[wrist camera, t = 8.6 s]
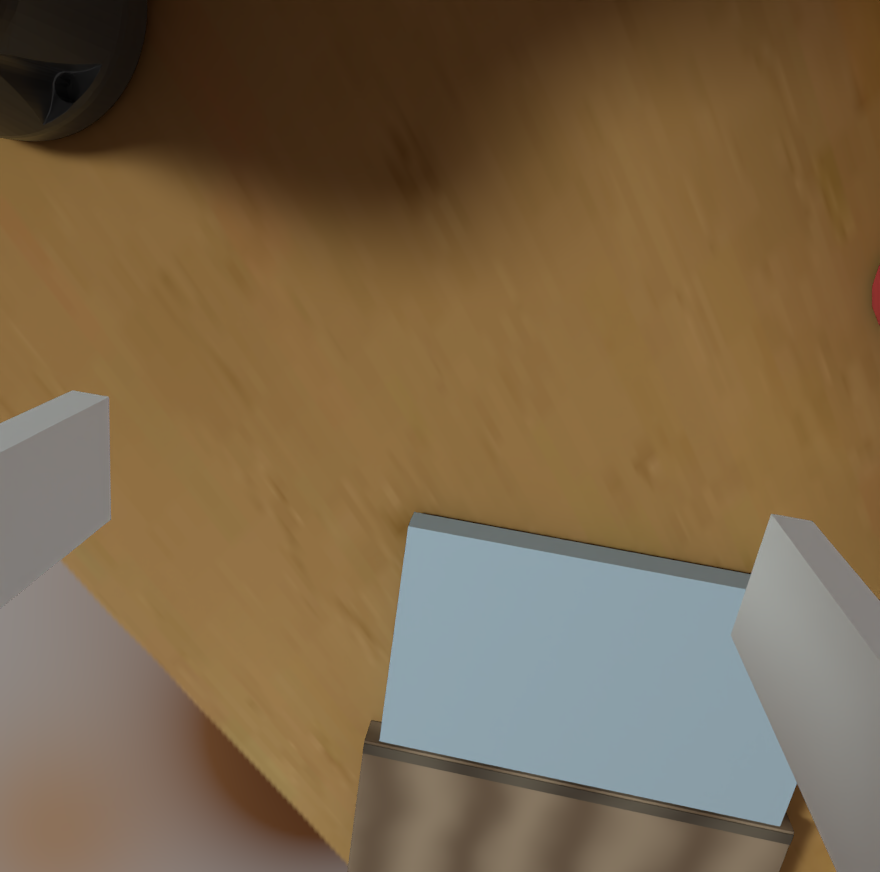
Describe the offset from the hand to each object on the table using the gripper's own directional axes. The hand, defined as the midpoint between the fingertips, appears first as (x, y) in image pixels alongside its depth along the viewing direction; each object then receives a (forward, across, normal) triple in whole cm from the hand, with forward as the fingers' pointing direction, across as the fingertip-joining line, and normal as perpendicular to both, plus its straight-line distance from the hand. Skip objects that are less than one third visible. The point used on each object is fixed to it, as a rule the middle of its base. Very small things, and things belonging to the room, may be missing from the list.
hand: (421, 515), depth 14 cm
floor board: (+26, +11, -36) cm, 46 cm away
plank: (+25, +11, -30) cm, 40 cm away
